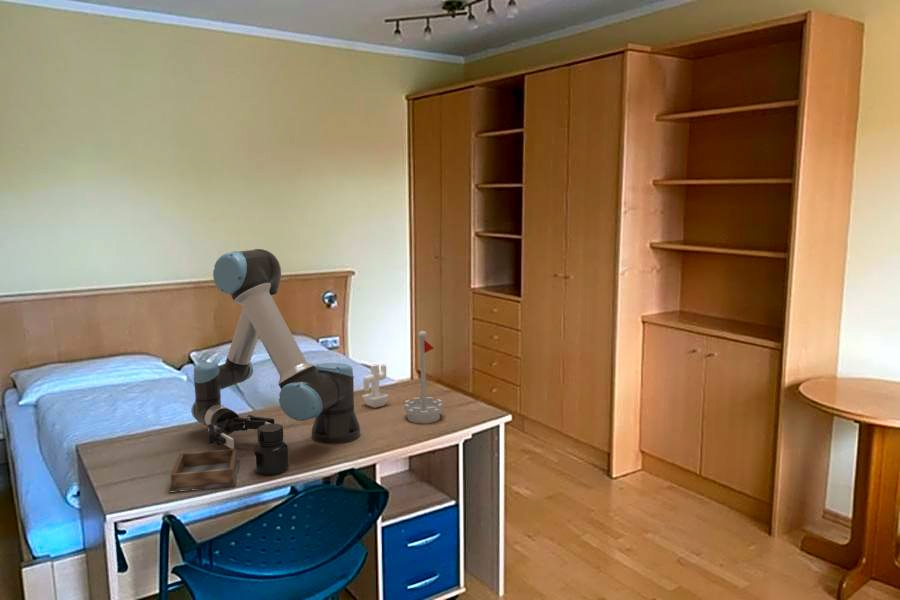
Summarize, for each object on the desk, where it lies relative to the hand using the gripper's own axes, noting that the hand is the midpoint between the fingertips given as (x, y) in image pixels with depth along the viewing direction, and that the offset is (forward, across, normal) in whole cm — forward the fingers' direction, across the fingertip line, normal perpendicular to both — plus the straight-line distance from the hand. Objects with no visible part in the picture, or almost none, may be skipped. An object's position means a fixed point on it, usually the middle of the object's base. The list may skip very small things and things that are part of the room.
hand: (255, 437), depth 188 cm
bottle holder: (+1, +15, -7) cm, 17 cm away
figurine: (-18, -56, -7) cm, 59 cm away
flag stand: (+5, -59, -7) cm, 59 cm away
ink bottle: (+8, 0, -7) cm, 11 cm away
